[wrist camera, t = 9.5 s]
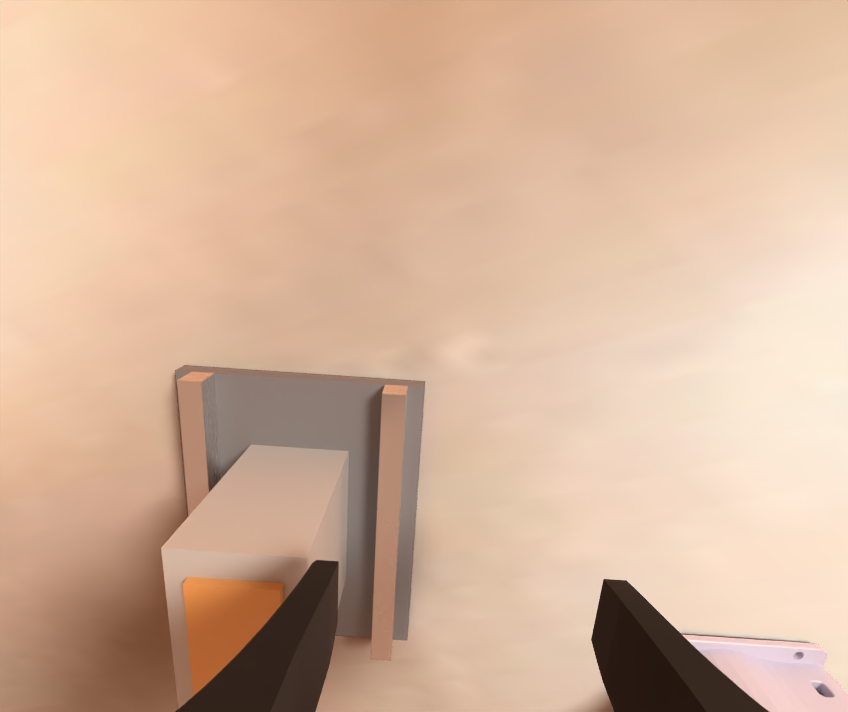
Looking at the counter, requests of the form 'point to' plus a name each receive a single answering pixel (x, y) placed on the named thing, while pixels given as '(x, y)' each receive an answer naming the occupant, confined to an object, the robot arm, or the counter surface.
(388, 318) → the counter surface
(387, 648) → the rail mount
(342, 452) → the module block
